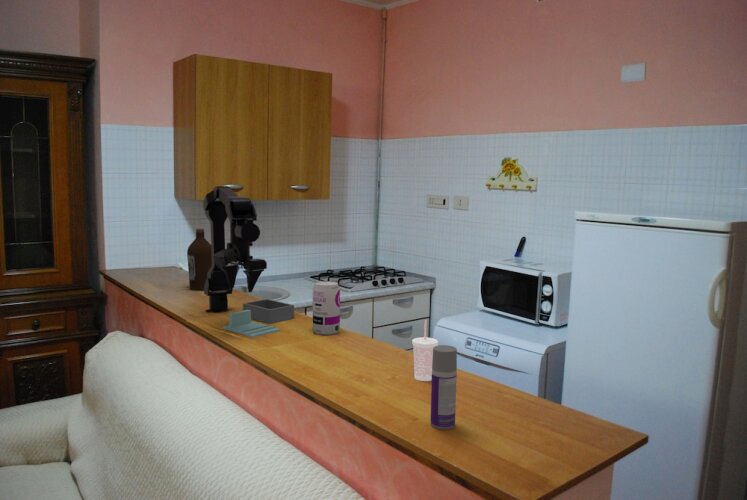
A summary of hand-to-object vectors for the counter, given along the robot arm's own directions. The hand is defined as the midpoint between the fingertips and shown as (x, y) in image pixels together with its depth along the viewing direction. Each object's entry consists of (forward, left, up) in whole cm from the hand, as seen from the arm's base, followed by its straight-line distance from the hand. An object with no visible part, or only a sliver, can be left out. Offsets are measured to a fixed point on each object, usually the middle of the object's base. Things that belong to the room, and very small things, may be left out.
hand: (240, 290), depth 177 cm
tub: (-4, +14, -12) cm, 19 cm away
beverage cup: (+67, +3, -12) cm, 69 cm away
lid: (+5, 0, -12) cm, 13 cm away
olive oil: (-65, +28, -12) cm, 71 cm away
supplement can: (+21, +16, -12) cm, 29 cm away
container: (+85, -16, -12) cm, 88 cm away
